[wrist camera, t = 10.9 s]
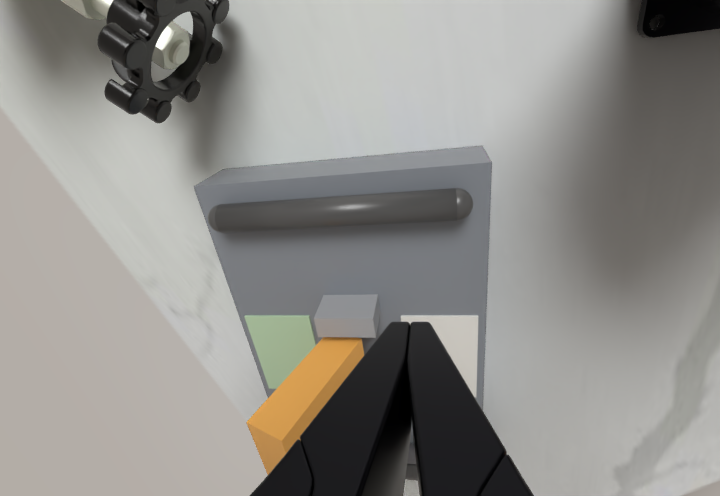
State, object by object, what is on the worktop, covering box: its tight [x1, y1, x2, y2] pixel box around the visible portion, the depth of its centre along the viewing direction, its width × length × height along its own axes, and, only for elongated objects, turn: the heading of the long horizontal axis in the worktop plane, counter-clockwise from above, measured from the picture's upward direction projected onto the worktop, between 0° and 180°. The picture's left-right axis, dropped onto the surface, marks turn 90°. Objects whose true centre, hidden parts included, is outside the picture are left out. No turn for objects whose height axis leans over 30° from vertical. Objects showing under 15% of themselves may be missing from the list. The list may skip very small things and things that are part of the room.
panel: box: [194, 146, 492, 480], centre depth 22 cm, size 14×22×5 cm, turn 7°
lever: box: [246, 337, 364, 475], centre depth 18 cm, size 2×5×6 cm, turn 7°
